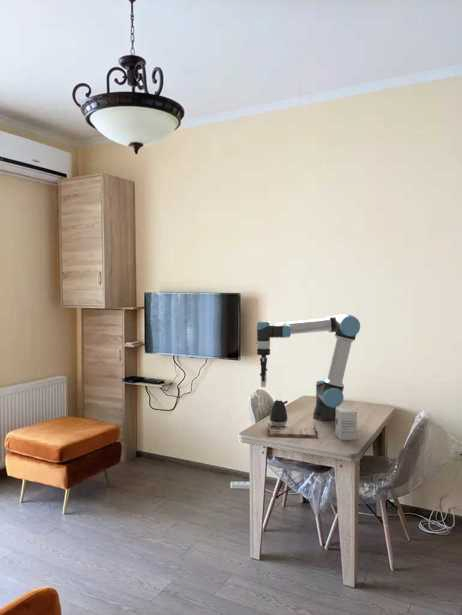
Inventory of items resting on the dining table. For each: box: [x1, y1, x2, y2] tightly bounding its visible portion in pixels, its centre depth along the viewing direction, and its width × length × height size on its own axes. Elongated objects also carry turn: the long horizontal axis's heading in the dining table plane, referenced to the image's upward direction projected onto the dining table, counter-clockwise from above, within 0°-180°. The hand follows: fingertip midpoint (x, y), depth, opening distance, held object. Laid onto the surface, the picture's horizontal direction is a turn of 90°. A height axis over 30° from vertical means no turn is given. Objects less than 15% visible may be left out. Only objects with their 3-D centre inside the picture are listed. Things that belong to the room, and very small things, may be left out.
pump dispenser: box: [269, 399, 288, 427], centre depth 275 cm, size 10×10×15 cm
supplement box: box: [335, 407, 358, 441], centre depth 254 cm, size 9×9×15 cm
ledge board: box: [267, 422, 319, 439], centre depth 260 cm, size 26×12×4 cm, turn 86°
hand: (263, 384), depth 278 cm, fingers open, 13 cm apart
